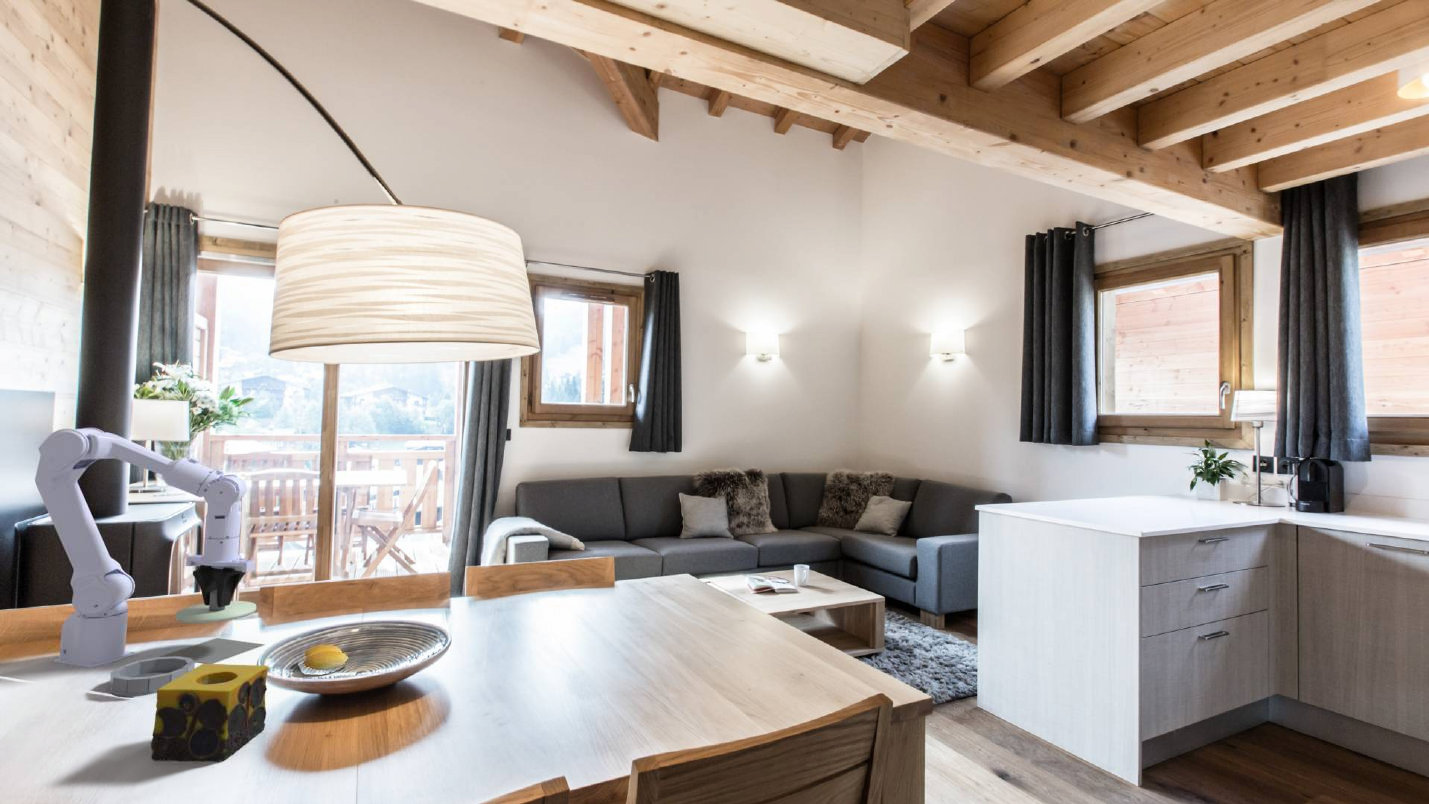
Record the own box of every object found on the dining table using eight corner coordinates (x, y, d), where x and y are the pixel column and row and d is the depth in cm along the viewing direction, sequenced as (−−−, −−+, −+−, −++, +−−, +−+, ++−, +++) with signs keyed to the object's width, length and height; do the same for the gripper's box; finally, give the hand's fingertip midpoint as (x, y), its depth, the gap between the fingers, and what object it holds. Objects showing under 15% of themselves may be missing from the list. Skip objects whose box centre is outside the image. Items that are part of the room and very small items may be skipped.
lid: (157, 619, 130) (159, 596, 130) (219, 602, 143) (221, 581, 143) (213, 626, 127) (214, 602, 128) (271, 608, 140) (273, 587, 140)
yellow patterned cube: (197, 729, 103) (202, 662, 104) (266, 729, 104) (271, 664, 105) (147, 762, 93) (152, 688, 94) (224, 763, 94) (230, 690, 94)
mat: (159, 658, 130) (159, 656, 130) (216, 639, 142) (216, 637, 142) (210, 666, 128) (210, 664, 128) (265, 646, 140) (265, 644, 140)
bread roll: (303, 680, 124) (304, 658, 124) (294, 665, 131) (295, 644, 131) (353, 671, 129) (354, 650, 129) (342, 657, 136) (343, 637, 136)
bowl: (93, 692, 114) (94, 674, 114) (158, 670, 125) (160, 653, 125) (145, 701, 112) (147, 682, 112) (208, 677, 122) (209, 660, 123)
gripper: (269, 536, 138) (265, 603, 138) (211, 530, 141) (206, 596, 141) (239, 542, 131) (233, 612, 131) (177, 535, 134) (172, 605, 134)
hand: (217, 605), depth 135 cm, fingers closed on lid, 3 cm apart
